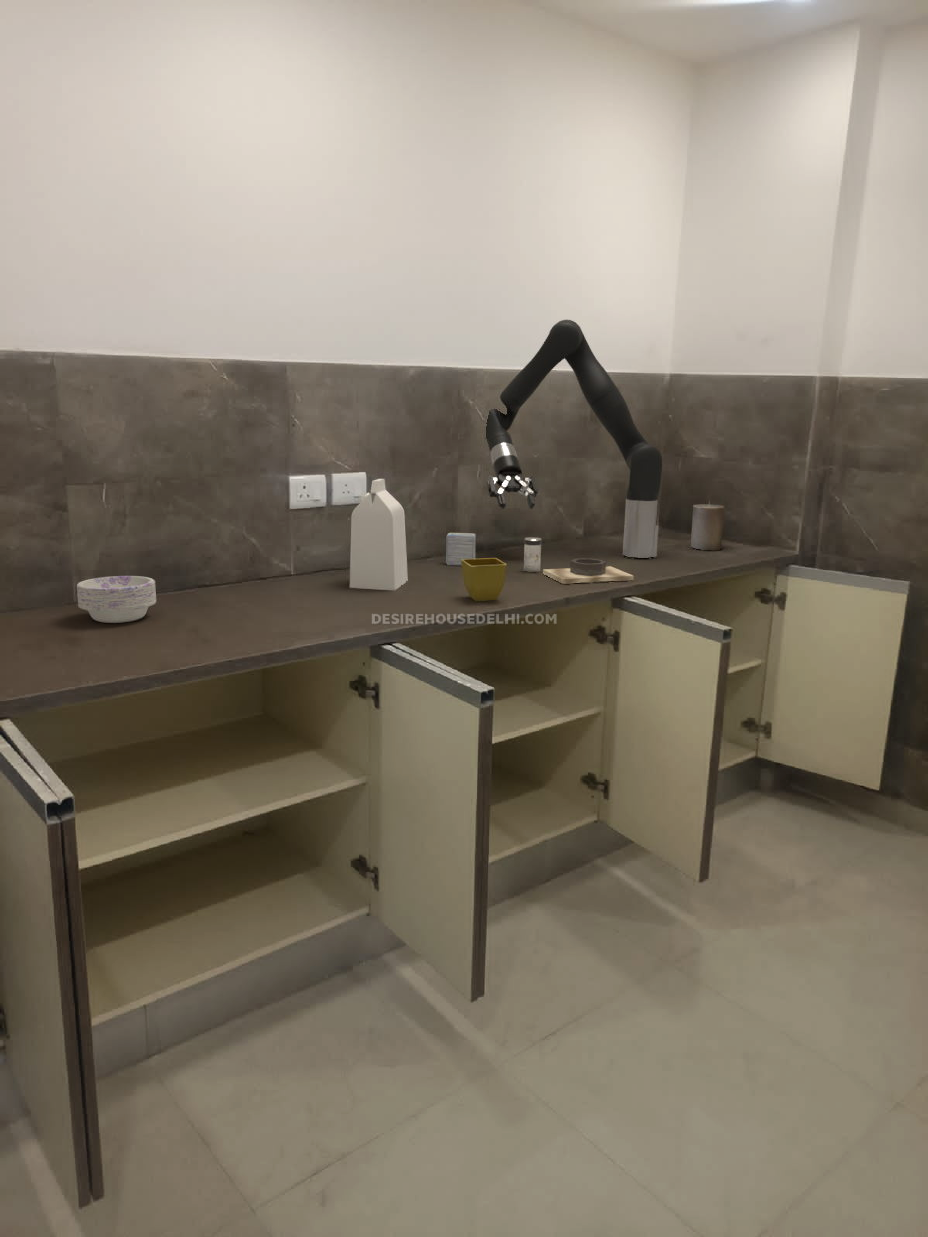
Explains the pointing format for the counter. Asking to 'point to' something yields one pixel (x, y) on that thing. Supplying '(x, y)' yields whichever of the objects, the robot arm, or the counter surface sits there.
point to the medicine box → (459, 547)
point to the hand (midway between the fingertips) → (518, 507)
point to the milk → (378, 541)
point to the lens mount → (587, 572)
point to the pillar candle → (707, 526)
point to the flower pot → (483, 577)
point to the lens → (532, 554)
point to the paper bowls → (116, 597)
